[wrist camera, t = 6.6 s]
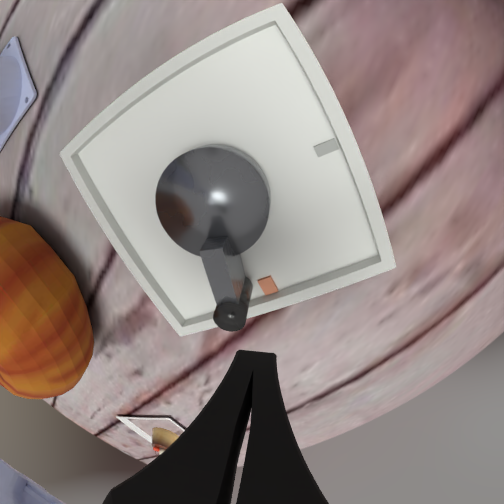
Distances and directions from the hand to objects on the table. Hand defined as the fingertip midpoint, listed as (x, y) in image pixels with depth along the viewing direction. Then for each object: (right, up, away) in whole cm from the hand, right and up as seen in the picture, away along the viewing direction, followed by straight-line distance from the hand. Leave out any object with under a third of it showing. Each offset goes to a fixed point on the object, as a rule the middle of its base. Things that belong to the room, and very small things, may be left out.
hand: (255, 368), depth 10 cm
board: (-2, +8, +7) cm, 11 cm away
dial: (-2, +6, +6) cm, 9 cm away
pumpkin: (-23, +1, +14) cm, 27 cm away
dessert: (-13, -23, +26) cm, 38 cm away
